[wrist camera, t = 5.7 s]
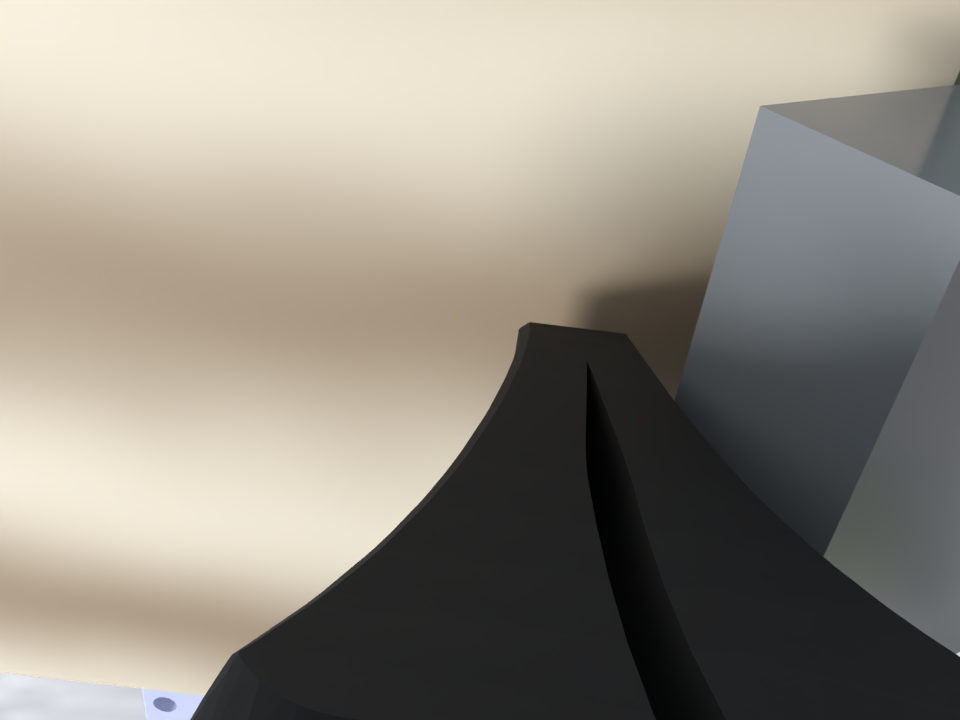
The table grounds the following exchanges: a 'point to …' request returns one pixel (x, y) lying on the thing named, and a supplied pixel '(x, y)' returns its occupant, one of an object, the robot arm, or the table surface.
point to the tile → (846, 340)
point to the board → (338, 268)
